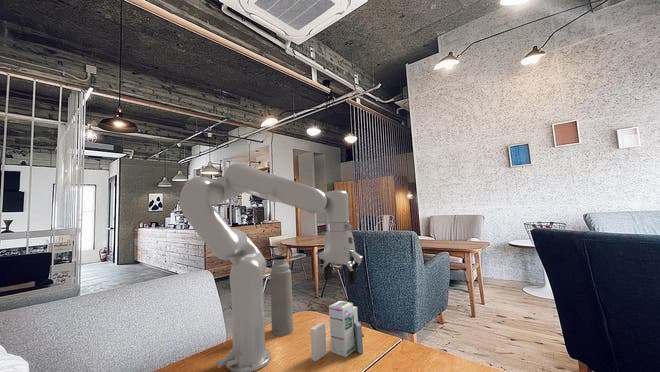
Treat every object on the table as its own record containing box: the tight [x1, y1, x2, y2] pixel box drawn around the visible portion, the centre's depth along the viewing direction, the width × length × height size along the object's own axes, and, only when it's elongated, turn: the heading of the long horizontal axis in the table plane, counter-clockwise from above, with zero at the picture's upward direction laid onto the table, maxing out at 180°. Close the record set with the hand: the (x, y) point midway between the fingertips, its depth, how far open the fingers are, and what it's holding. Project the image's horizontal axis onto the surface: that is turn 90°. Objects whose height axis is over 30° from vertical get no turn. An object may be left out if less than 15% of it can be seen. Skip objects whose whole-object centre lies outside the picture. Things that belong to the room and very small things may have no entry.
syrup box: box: [328, 300, 357, 358], centre depth 87 cm, size 6×6×14 cm
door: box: [354, 317, 365, 354], centre depth 91 cm, size 13×2×9 cm, turn 11°
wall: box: [310, 305, 359, 362], centre depth 91 cm, size 23×2×9 cm, turn 141°
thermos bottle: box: [269, 255, 294, 337], centre depth 105 cm, size 8×8×28 cm
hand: (340, 281), depth 88 cm, fingers open, 9 cm apart
